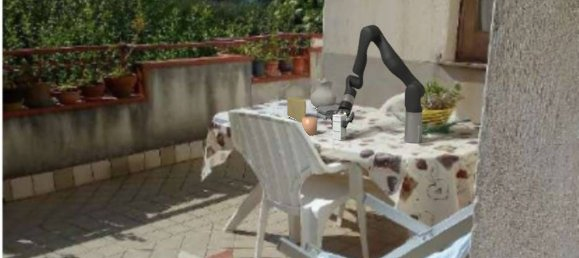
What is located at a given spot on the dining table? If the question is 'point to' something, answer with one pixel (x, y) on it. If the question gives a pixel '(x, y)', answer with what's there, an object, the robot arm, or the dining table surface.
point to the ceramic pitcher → (323, 93)
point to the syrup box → (339, 126)
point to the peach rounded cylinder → (310, 125)
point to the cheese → (296, 108)
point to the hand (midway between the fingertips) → (338, 126)
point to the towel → (326, 111)
